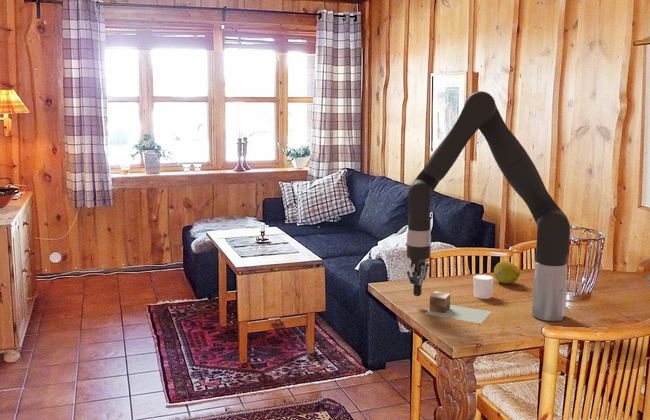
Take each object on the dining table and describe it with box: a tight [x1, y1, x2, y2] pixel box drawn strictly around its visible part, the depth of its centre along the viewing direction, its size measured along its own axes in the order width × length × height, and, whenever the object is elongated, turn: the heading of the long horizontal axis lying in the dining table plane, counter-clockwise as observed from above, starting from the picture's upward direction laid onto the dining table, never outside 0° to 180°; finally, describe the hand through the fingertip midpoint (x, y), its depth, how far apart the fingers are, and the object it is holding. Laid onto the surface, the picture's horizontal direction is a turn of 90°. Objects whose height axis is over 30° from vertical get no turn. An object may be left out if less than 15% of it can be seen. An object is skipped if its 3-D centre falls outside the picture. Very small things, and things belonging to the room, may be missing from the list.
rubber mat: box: [423, 304, 492, 324], centre depth 211 cm, size 18×12×1 cm, turn 61°
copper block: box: [428, 291, 451, 313], centre depth 214 cm, size 5×5×5 cm
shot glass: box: [472, 273, 495, 300], centre depth 227 cm, size 7×7×7 cm
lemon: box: [493, 260, 521, 285], centre depth 242 cm, size 11×8×8 cm
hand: (417, 295), depth 217 cm, fingers closed
